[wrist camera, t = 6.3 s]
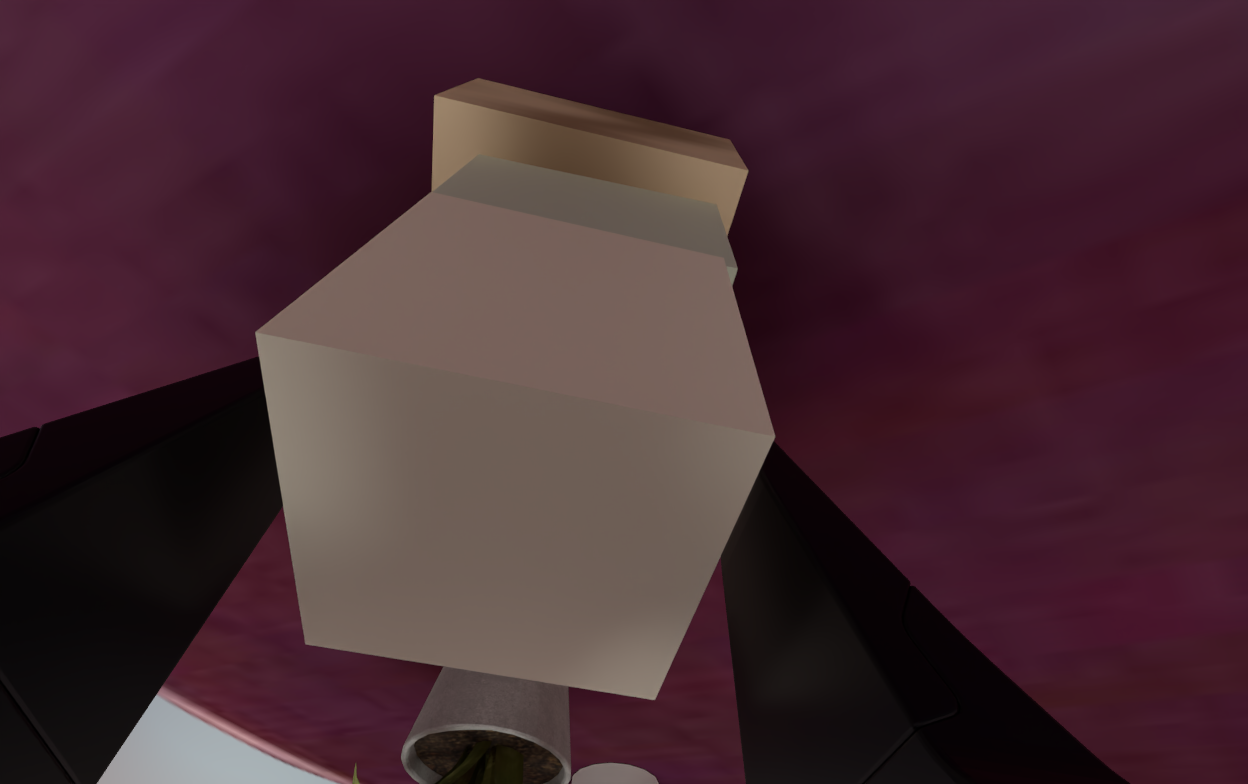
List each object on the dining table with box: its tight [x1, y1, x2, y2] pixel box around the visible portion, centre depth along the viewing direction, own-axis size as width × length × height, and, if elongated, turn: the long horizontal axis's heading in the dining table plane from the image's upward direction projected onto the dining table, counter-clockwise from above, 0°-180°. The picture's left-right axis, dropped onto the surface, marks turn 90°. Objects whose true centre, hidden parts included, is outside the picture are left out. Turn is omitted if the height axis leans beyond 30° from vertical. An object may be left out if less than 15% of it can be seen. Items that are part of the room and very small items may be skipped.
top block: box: [433, 154, 738, 285], centre depth 13 cm, size 6×6×4 cm
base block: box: [432, 78, 748, 236], centre depth 16 cm, size 7×7×4 cm
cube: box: [255, 192, 775, 700], centre depth 9 cm, size 5×5×5 cm
